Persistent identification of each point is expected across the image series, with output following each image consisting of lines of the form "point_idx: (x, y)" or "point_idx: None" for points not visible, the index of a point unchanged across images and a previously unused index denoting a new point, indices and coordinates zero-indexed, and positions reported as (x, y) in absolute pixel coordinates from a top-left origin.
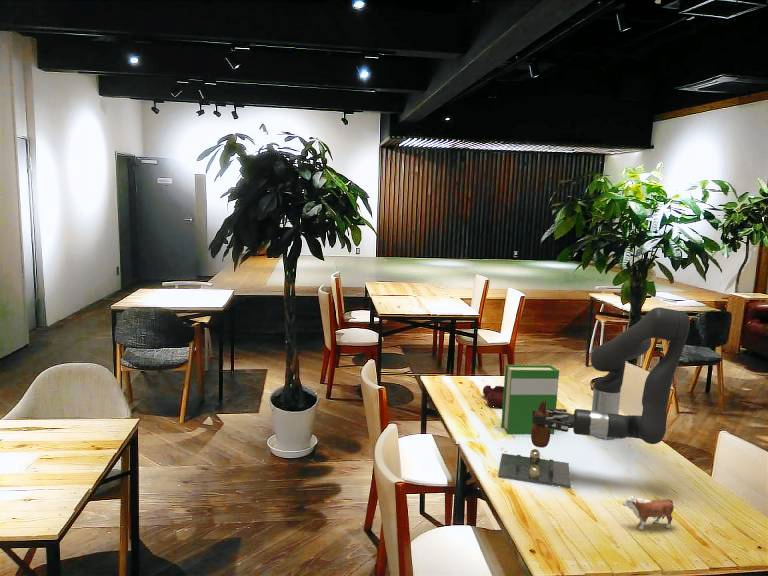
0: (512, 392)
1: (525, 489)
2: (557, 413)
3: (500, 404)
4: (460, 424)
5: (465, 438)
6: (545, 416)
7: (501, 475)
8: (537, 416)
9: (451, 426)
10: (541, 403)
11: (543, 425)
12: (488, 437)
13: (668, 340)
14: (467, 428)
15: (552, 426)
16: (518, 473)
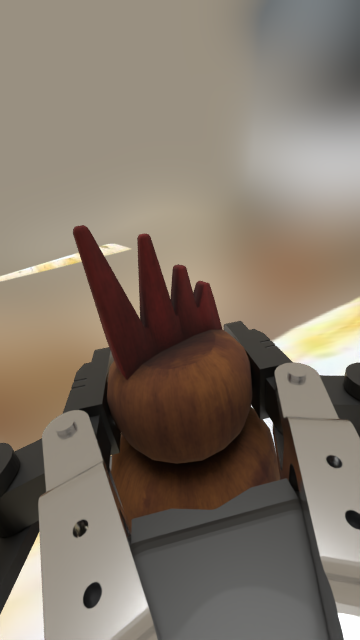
0: None
1: (32, 582)
2: (300, 492)
3: None
4: (345, 321)
5: (286, 346)
6: (114, 401)
7: (109, 466)
8: (99, 362)
9: (317, 318)
10: (174, 272)
11: (129, 454)
12: (344, 370)
13: None
14: (341, 332)
15: (15, 545)
16: None
